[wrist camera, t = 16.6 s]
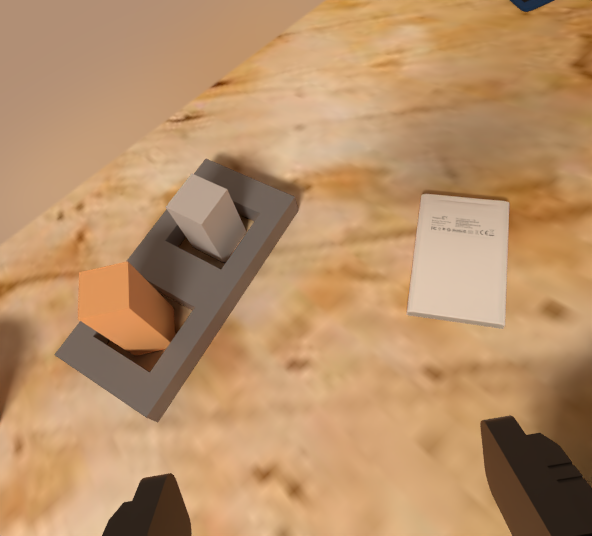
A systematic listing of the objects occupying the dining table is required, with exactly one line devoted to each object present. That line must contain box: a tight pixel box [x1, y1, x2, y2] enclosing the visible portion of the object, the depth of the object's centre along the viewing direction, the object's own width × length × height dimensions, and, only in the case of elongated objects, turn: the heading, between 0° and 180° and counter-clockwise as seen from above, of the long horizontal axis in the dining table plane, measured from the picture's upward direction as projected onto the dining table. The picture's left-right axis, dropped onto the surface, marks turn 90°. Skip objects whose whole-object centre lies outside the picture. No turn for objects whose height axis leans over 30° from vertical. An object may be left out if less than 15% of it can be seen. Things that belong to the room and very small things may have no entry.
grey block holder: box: [55, 159, 298, 422], centre depth 45 cm, size 24×11×8 cm, turn 149°
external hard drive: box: [407, 194, 509, 329], centre depth 46 cm, size 2×8×12 cm
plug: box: [78, 262, 175, 356], centre depth 43 cm, size 4×4×10 cm
